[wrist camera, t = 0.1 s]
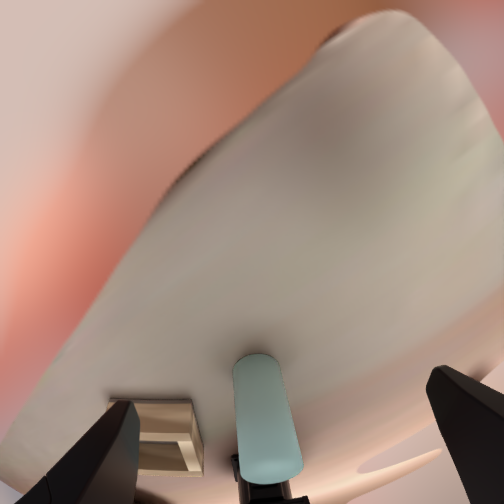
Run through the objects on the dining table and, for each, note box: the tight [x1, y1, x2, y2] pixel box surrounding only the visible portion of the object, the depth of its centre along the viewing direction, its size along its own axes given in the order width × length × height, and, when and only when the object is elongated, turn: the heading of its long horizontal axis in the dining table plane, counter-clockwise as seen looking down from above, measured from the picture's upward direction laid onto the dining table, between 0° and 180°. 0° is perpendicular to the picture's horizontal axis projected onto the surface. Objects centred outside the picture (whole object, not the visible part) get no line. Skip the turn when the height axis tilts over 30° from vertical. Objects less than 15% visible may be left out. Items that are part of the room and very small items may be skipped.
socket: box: [106, 399, 204, 477], centre depth 26 cm, size 8×8×4 cm
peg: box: [233, 354, 304, 484], centre depth 21 cm, size 4×4×10 cm
